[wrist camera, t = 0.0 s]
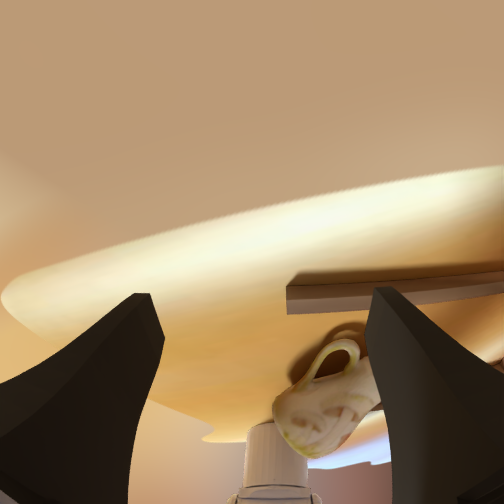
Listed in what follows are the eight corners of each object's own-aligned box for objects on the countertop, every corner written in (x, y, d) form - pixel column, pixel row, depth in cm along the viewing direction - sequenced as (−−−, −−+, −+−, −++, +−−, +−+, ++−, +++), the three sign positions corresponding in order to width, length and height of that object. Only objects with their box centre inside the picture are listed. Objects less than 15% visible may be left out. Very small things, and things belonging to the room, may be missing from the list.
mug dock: (501, 367, 24) (506, 375, 23) (285, 406, 27) (285, 418, 26) (552, 264, 17) (560, 271, 16) (286, 286, 20) (286, 300, 18)
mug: (407, 361, 22) (382, 468, 17) (318, 357, 29) (292, 447, 24) (383, 335, 18) (347, 477, 13) (276, 333, 25) (240, 441, 20)
